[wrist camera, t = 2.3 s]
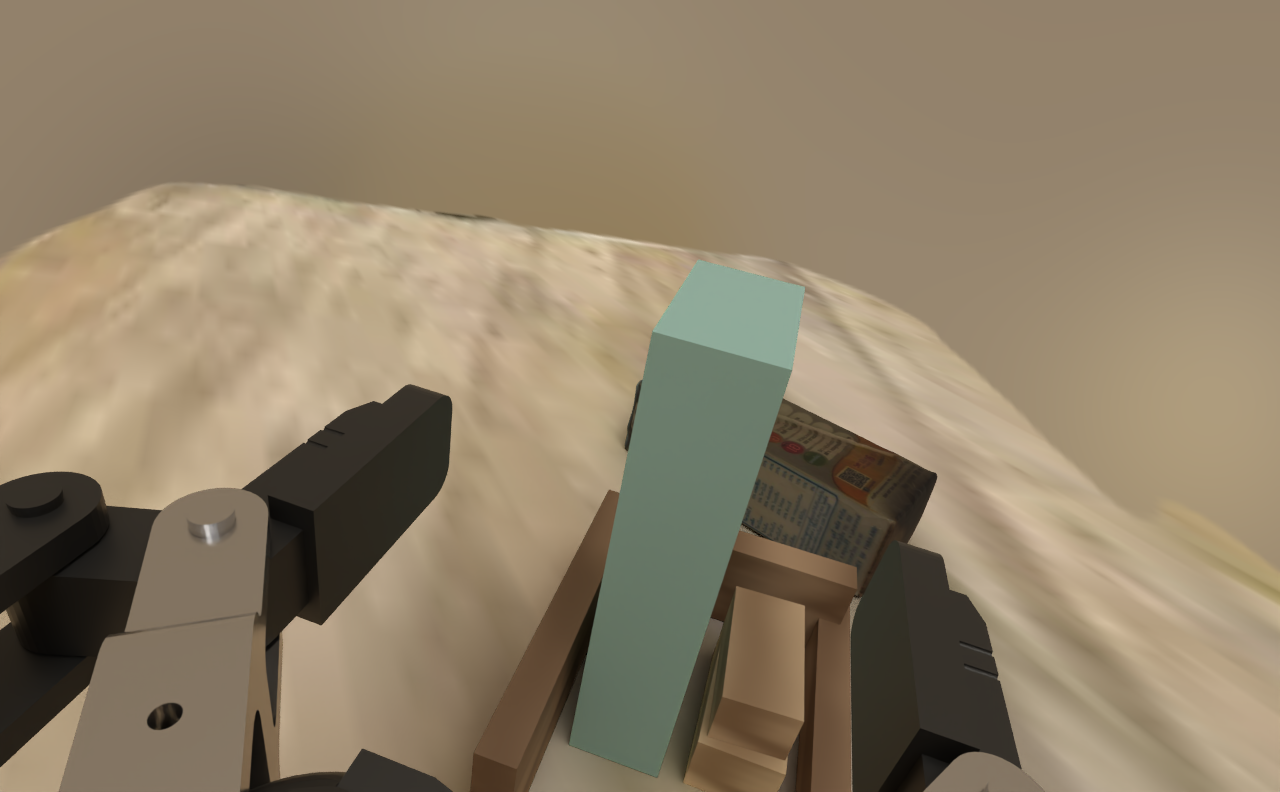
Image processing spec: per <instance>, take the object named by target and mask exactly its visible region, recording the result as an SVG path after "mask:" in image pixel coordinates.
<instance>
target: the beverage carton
mask: <svg viewBox="0 0 1280 792" xmlns="http://www.w3.org/2000/svg"><path fill="white" fill-rule="evenodd" d="M642 381H643V380H641V381H640V382H639V383H638V384H637V386H636V393H635V400H634V406H633V410H632V414H631V417H630V420H629V423H628V428H627V438H626V442H625V449H626V450H629V445H630V440H631V435H632V430H633V425H634V420H635V415H636V410H637V405H638V400H639V396H640V391H641V386H642ZM936 480H937V474H936V473H934V472H931V471H928V470H926V469H924V468H922V467H920V466H919V465H917V464H915V463H913V462H911V461H909V460H907V459H905V458H904V457H902V456H900V455H898V454H896V453H894V452H891V451H889V450H887V449H884V448H882V447H880V446H878V445H876V444H874V443H872V442H870V441H868V440H866V439H864V438H862V437H860V436H858V435H856V434H854V433H852V432H850V431H848V430H846V429H844V428H842V427H840V426H838V425H836V424H834V423H832V422H830V421H828V420H825V419H823V418H821V417H819V416H817V415H816V414H813V413H811V412H809V411H807V410H805V409H803V408H801V407H799V406H797V405H795V404H793V403H791V402H789V401H787V400H785V399H782V402H781V405H780V408H779V411H778V414H777V417H776V420H775V423H774V426H773V429H772V432H771V435H770V438H769V441H768V444H767V447H766V451H765V454H764V457H763V460H762V463H761V466H760V469H759V472H758V475H757V478H756V481H755V484H754V487H753V490H752V493H751V496H750V499H749V502H748V505H747V508H746V511H745V514H744V517H743V520H742V523H743V524H744V525H746V526H747V527H749V528H751V529H752V530H754V531H756V532H757V533H759V534H760V535H762V536H764V537H765V538H767V539H768V540H771V541H774V542H778V543H781V544H784V545H787V546H790V547H793V548H797V549H800V550H803V551H806V552H809V553H813V554H816V555H819V556H822V557H825V558H829V559H832V560H835V561H838V562H841V563H845V564H848V565H851V566H854V567H857V591H856V593H855V595H856V596H857V597H862V596H863V594H864V592H865V590H866V589H867V587H868V585H869V583H870V581H871V579H872V577H873V575H874V573H875V571H876V569H877V567H878V565H879V563H880V561H881V559H882V557H883V555H884V553H885V551H886V549H887V548H888V546H889V545H890V543H891V542H892V541H894V540H897V541H900V542H903V543H906V544H907V543H908V541H909V540H910V538H911V536H912V534H913V532H914V530H915V529H916V527H917V525H918V523H919V521H920V519H921V517H922V514H923V512H924V510H925V507H926V505H927V502H928V500H929V498H930V495H931V493H932V490H933V488H934V485H935V483H936Z"/></svg>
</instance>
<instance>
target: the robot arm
mask: <svg viewBox="0 0 1280 792" xmlns="http://www.w3.org/2000/svg"><path fill="white" fill-rule="evenodd" d="M451 421H452V401H451V399H450V397H449V396H446V395H443V394H440V393H437V392H434V391H430V390H427V389H424V388H421V387H418V386H415V385H411V384H409V385H406V386H404V387H403V388H402V389H400V390H399V391H398V392H397V393H395V394H394V395H393V396H392V397H390V398H389V399H388V400H387V401H385V402H384V403H383V404H381V403H378V402H375V401H373V402H370V403H367V404H364V405H362V406H359V407H356V408H353V409H350V410H348V411H345V412H344V413H342V414H341V415H340V416H338V417H337V418H336V419H334V420H333V421H332V422H330V423H329V424H328V425H326V426H325V428H324V430H320V431H318V432H317V433H316V434H314V435H313V436H312V437H310V438H309V439H308V441H307V443H306V444H305V443H302V444H301V445H300V446H298V447H297V448H296V449H294V450H293V451H292V452H290V453H289V454H288V455H286V456H285V457H284V458H282V459H281V460H280V461H278V462H277V463H276V464H274V465H273V466H272V467H270V468H269V469H268V470H266V471H265V472H264V473H262V474H261V475H260V476H258V477H257V478H256V479H254V480H253V481H252V482H250V483H249V484H248V485H246V486H245V487H244V488H242V489H236V488H215V489H208V490H203V491H199V492H195V493H192V494H189V495H187V496H184V497H182V498H180V499H178V500H176V501H174V502H173V503H171V504H170V505H168V506H167V507H166V508H164V509H163V510H151V509H139V508H127V507H114V506H106V504H105V500H104V497H103V493H102V489H101V487H100V485H99V484H98V483H97V481H95V480H94V479H92V478H91V477H88V476H86V475H83V474H79V473H73V472H47V473H40V474H34V475H29V476H25V477H21V478H18V479H15V480H12V481H9V482H7V483H5V484H2V485H0V614H1V613H2V612H3V611H5V610H6V611H7V613H8V616H9V618H10V621H11V622H10V623H9V624H8V625H6V626H5V627H4V628H3V629H1V630H0V767H1V766H2V765H3V764H4V763H6V762H7V761H8V760H9V759H10V758H11V757H12V756H13V755H14V754H15V753H16V752H17V751H18V750H19V749H21V748H22V747H23V746H24V745H25V744H26V743H27V742H28V741H29V740H30V739H31V738H32V737H33V736H35V735H36V734H37V733H38V732H39V731H40V730H41V729H42V728H43V727H44V726H45V725H46V724H47V723H49V722H50V721H51V720H52V719H53V718H54V717H55V716H56V715H57V714H58V713H59V712H60V711H61V710H62V709H64V708H65V707H66V706H67V705H68V704H69V703H70V702H71V701H72V700H73V699H74V698H75V697H76V696H78V695H79V694H80V693H81V692H82V691H83V690H84V689H85V688H86V687H87V686H88V685H89V684H90V685H89V688H88V692H87V695H86V699H85V702H84V706H83V709H82V713H81V716H80V720H79V723H78V727H77V730H76V733H75V737H74V740H73V744H72V747H71V751H70V754H69V758H68V761H67V765H66V768H65V772H64V775H63V779H62V782H61V786H60V789H59V792H452V791H451V790H450V789H449V788H447V787H446V786H445V785H444V784H442V783H441V782H440V781H439V780H437V779H436V778H435V777H432V776H430V775H427V774H425V773H422V772H420V771H417V770H415V769H412V768H410V767H407V766H405V765H402V764H400V763H397V762H395V761H392V760H390V759H387V758H385V757H382V756H380V755H377V754H375V753H372V752H370V751H367V750H365V749H362V750H361V751H360V753H359V754H358V756H357V757H356V759H355V760H354V761H353V763H352V764H351V766H350V767H349V769H348V770H347V772H317V773H309V774H302V775H296V776H291V777H287V778H283V779H280V765H279V729H280V703H281V676H282V650H283V638H282V631H283V629H284V628H285V627H286V626H287V625H288V624H289V623H290V622H291V621H292V620H293V619H294V618H295V617H296V616H298V617H300V618H303V619H306V620H308V621H311V622H314V623H316V624H319V625H322V624H323V623H324V622H325V621H326V620H327V619H328V618H329V616H330V615H331V614H332V613H333V612H334V611H335V610H336V609H337V607H338V606H339V605H340V604H341V603H342V602H343V601H344V599H345V598H346V597H347V596H348V595H349V594H350V593H351V592H352V590H353V589H354V588H355V587H356V586H357V585H358V584H359V583H360V581H361V580H362V579H363V578H364V577H365V576H366V575H367V574H368V572H369V571H370V570H371V569H372V568H373V567H374V566H375V565H376V563H377V562H378V561H379V560H380V559H381V558H382V557H383V556H384V554H385V553H386V552H387V551H388V550H389V549H390V548H391V547H392V545H393V544H394V543H395V542H396V541H397V540H398V539H399V538H400V536H401V535H402V534H403V533H404V532H405V531H406V530H407V529H408V527H409V526H410V525H411V524H412V523H413V522H414V521H415V520H416V518H417V517H418V516H419V515H420V514H421V513H422V512H423V511H424V509H425V508H426V507H427V506H428V505H429V504H430V503H431V502H432V500H433V499H434V498H435V497H436V496H437V494H438V493H439V491H440V489H441V488H442V485H443V483H444V481H445V478H446V475H447V472H448V467H449V454H450V438H451ZM992 652H993V651H992V647H991V643H990V639H989V635H988V631H987V627H986V623H985V622H984V620H983V619H982V617H981V616H980V614H979V613H978V611H977V610H976V608H975V607H974V605H973V604H972V602H971V601H970V600H969V598H968V597H967V595H964V594H961V593H958V592H955V591H952V590H949V585H948V580H947V575H946V569H945V564H944V560H943V557H942V556H941V555H940V554H937V553H934V552H931V551H928V550H925V549H922V548H918V547H915V546H912V545H909V544H906V543H903V542H900V541H897V540H894V541H892V542H891V543H890V545H889V546H888V548H887V549H886V551H885V553H884V555H883V557H882V559H881V561H880V563H879V565H878V567H877V569H876V571H875V573H874V575H873V577H872V579H871V581H870V583H869V585H868V587H867V589H866V590H865V592H864V594H863V596H862V598H861V600H860V602H859V605H858V607H857V610H856V613H855V616H854V620H853V624H852V630H851V712H852V785H853V792H1045V791H1044V790H1043V789H1042V788H1041V787H1040V786H1039V785H1038V784H1037V783H1036V782H1035V781H1034V780H1033V779H1032V778H1031V777H1030V776H1029V775H1027V774H1026V773H1025V772H1024V771H1023V770H1022V769H1021V765H1020V761H1019V757H1018V753H1017V749H1016V745H1015V741H1014V737H1013V732H1012V728H1011V724H1010V720H1009V716H1008V712H1007V708H1006V704H1005V700H1004V696H1003V692H1002V688H1001V684H1000V681H999V680H997V677H998V671H997V667H996V663H995V659H994V657H992Z"/></svg>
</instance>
